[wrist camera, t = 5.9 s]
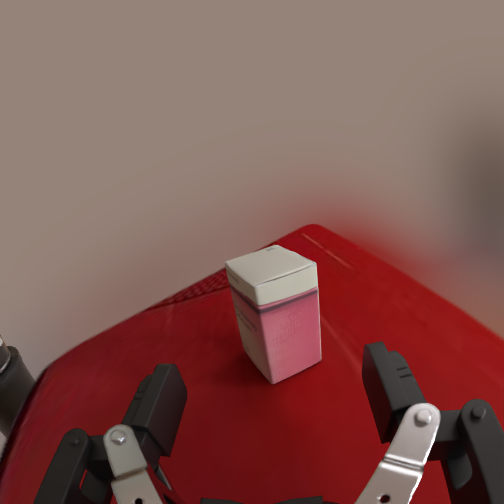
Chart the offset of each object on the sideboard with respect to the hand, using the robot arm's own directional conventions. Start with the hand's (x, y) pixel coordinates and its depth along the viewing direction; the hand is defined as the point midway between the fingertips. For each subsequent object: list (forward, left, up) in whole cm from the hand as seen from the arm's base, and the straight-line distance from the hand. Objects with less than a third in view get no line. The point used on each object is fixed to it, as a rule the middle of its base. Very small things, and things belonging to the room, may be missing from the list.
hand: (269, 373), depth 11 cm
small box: (-4, +7, -6) cm, 10 cm away
